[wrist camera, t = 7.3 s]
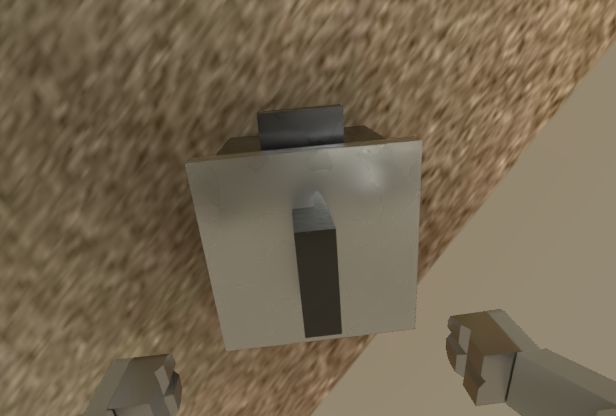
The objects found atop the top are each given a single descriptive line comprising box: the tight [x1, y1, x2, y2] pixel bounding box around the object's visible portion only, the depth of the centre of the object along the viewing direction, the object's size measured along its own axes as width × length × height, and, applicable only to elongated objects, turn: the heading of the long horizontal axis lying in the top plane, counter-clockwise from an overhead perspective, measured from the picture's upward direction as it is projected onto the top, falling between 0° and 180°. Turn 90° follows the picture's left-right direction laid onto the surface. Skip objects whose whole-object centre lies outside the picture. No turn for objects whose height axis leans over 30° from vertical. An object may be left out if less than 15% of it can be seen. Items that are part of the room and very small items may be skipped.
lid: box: [185, 136, 422, 351], centre depth 15 cm, size 10×10×4 cm
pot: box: [215, 104, 386, 156], centre depth 21 cm, size 13×9×8 cm
